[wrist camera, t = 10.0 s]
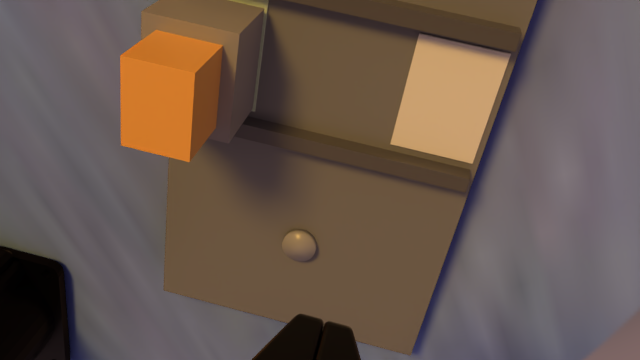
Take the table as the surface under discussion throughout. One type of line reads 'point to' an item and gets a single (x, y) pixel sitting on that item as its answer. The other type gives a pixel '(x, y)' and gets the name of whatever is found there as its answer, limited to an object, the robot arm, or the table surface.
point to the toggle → (189, 75)
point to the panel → (345, 162)
